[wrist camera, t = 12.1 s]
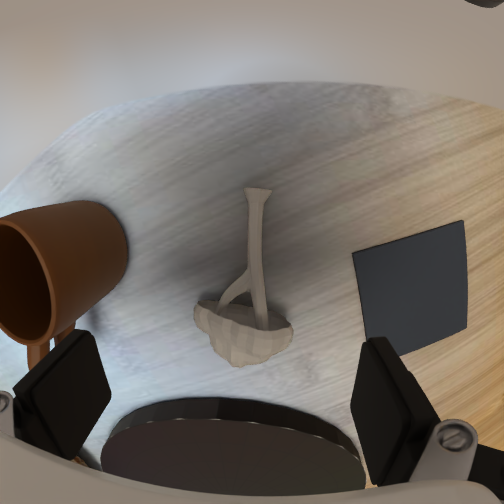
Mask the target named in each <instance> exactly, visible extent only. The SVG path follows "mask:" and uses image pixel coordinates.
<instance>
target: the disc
mask: <svg viewBox="0 0 504 504" xmlns="http://www.w3.org/2000/svg"><path fill="white" fill-rule="evenodd" d="M100 460H101V466H102V471H103V472H104V473H108V474H111V475H115V476H118V477H122V478H126V479H130V480H134V481H138V482H143V483H147V484H152V485H157V486H162V487H168V488H174V489H180V490H186V491H194V492H202V493H211V494H222V495H237V496H303V495H318V494H330V493H339V492H348V491H355V490H362V489H365V485H366V482H367V480H366V474H365V469H364V467H363V466H362V464H361V460H360V457H359V453H358V451H357V449H356V448H355V446H354V445H353V443H352V441H351V440H350V439H349V438H348V437H347V436H345V435H344V434H343V433H342V432H341V431H339V430H338V429H337V428H336V427H334V426H332V425H330V424H328V423H326V422H324V421H322V420H320V419H318V418H316V417H314V416H310V415H307V414H304V413H301V412H298V411H294V410H291V409H288V408H284V407H279V406H273V405H268V404H263V403H258V402H252V401H239V400H229V399H184V400H177V401H170V402H162V403H157V404H154V405H151V406H148V407H144V408H141V409H138V410H136V411H134V412H133V413H131V414H129V415H128V416H126V417H124V418H123V419H121V421H120V422H119V423H118V424H117V425H116V427H115V428H114V429H113V430H112V432H111V434H110V436H109V438H108V440H107V441H106V443H105V445H104V446H103V448H102V452H101V457H100Z"/></svg>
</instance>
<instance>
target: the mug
mask: <svg viewBox="0 0 504 504" xmlns="http://www.w3.org/2000/svg"><path fill="white" fill-rule="evenodd" d="M126 264H127V244H126V239H125V236H124V233H123V230H122V228H121V226H120V224H119V223H118V221H117V220H116V218H115V217H114V216H113V215H112V213H111V212H110V211H108V210H107V209H106V208H105V207H103V206H101V205H100V204H97V203H95V202H91V201H85V200H80V201H71V202H65V203H59V204H53V205H47V206H42V207H37V208H32V209H27V210H23V211H19V212H15V213H12V214H10V215H7V216H4V217H1V218H0V328H1V330H2V331H3V332H4V333H5V334H7V335H8V336H9V337H10V338H12V339H13V340H15V341H16V342H18V343H20V344H23V345H26V346H27V361H28V368H29V371H30V370H31V369H32V368H33V367H34V366H35V365H36V364H37V363H38V362H39V361H40V360H42V359H43V358H44V357H45V356H46V355H47V354H48V353H49V352H50V340H51V339H52V338H53V337H54V342H55V346H56V345H57V344H58V343H60V342H61V341H62V340H63V339H64V338H65V337H66V336H67V335H68V334H69V333H70V332H72V331H73V330H74V329H75V325H76V320H77V319H78V318H80V317H81V316H82V315H83V314H84V313H86V312H87V311H88V310H89V309H90V308H91V307H93V306H94V305H95V304H96V303H97V302H98V301H99V300H101V299H102V298H103V297H104V296H106V295H107V294H108V293H109V292H110V291H111V290H112V289H114V288H115V286H116V285H117V284H118V283H119V281H120V279H121V278H122V276H123V274H124V271H125V268H126Z"/></svg>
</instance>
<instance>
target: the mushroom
mask: <svg viewBox="0 0 504 504" xmlns="http://www.w3.org/2000/svg"><path fill="white" fill-rule="evenodd" d="M243 190H244V193H245V196H246V198H247V201H248V268H247V270H246V271H245V272H244V273H243V275H242V276H240V277H239V278H238V279H237V280H236V281H235V282H234V283H233V284H231V285H230V287H229V288H228V289H227V290H226V291H225V293H224V294H223V295H222V297H221V299H220V301H219V302H218V301H213V300H202V301H198V303H197V304H196V305H195V307H194V320H195V323H196V325H197V327H198V328H199V329H200V330H202V331H203V332H205V333H207V334H209V337H210V343H211V345H212V347H213V350H214V352H215V353H217V354H218V355H219V356H220V357H222V358H224V359H226V360H227V361H228V362H229V363H230V364H231V366H232V367H238V368H242V367H244V366H246V365H253V364H261V363H263V362H265V361H267V360H268V359H269V358H270V357H271V356H272V355H275V354H277V353H279V352H281V351H283V350H285V349H286V348H287V347H288V345H289V344H290V343H291V341H292V336H293V328H292V326H291V324H290V323H289V322H288V321H287V320H286V318H285V317H284V316H282V315H281V314H279V313H277V312H273V311H270V310H267V305H266V296H265V287H264V278H263V268H262V249H261V245H262V217H263V205H264V203H265V201H266V200H267V198H268V197H269V195H270V194H271V193H272V191H271V190H266V189H260V188H243ZM246 291H250V292H251V297H252V303H253V307H248V306H244V305H240V304H233V303H229V302H230V301H231V300H233V299H234V298H235V297H236V296H238V295H239V294H242V293H244V292H246Z"/></svg>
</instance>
